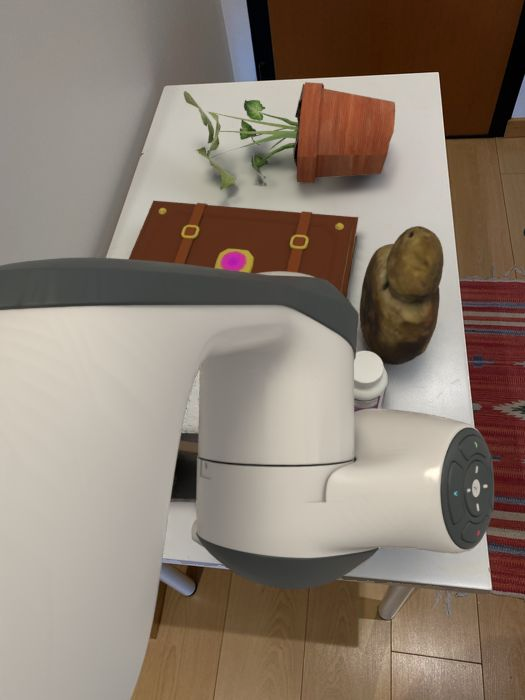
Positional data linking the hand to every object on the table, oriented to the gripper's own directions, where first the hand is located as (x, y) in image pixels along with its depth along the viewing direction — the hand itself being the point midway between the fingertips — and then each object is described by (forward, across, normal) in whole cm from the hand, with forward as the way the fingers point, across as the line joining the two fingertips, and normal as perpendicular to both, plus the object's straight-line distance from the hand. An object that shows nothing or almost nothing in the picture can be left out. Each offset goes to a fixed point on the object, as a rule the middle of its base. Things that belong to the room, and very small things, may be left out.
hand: (230, 445), depth 54 cm
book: (+15, -23, -4) cm, 28 cm away
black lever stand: (+12, +4, 0) cm, 12 cm away
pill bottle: (-1, -14, +12) cm, 19 cm away
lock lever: (+4, +2, -2) cm, 5 cm away
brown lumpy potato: (-1, -23, +12) cm, 26 cm away
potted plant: (+19, -46, -8) cm, 50 cm away
